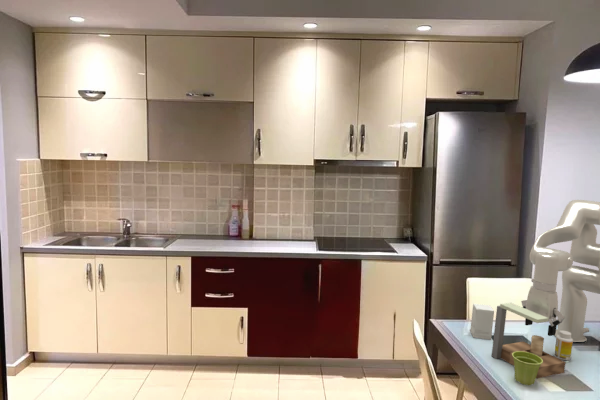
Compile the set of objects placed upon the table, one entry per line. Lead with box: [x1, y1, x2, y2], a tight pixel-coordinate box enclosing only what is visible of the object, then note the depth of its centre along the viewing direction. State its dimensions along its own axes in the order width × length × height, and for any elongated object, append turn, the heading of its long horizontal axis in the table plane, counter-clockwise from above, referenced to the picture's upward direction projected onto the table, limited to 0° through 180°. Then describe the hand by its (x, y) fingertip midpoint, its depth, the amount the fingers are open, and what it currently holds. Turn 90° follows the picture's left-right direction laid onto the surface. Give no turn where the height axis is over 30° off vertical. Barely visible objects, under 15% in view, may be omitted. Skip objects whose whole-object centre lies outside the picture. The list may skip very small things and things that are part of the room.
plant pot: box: [512, 351, 543, 386], centre depth 155 cm, size 9×9×9 cm
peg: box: [530, 334, 545, 357], centre depth 170 cm, size 4×4×10 cm
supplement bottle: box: [553, 331, 574, 361], centre depth 176 cm, size 6×6×10 cm
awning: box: [491, 302, 549, 360], centre depth 166 cm, size 6×17×21 cm, turn 23°
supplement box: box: [470, 303, 495, 341], centre depth 193 cm, size 7×7×13 cm
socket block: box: [500, 341, 567, 379], centre depth 169 cm, size 14×18×4 cm
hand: (539, 329), depth 170 cm, fingers open, 9 cm apart
